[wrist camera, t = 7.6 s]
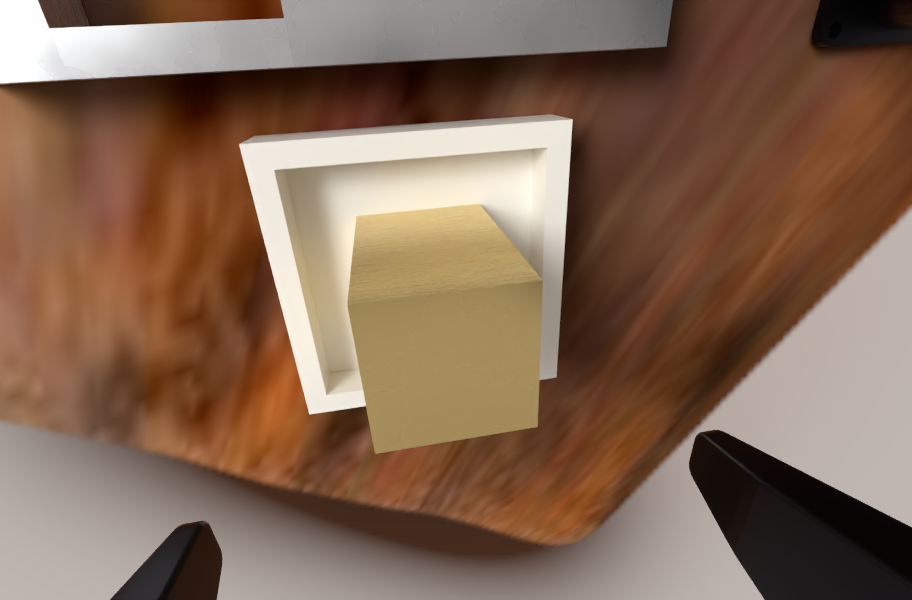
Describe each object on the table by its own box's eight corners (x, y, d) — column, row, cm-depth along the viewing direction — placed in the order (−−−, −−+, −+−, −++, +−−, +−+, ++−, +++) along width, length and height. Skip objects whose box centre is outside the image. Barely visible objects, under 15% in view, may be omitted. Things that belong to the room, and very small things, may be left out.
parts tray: (550, 114, 16) (572, 119, 14) (540, 351, 21) (556, 377, 19) (254, 136, 15) (239, 144, 13) (314, 383, 19) (309, 414, 18)
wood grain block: (479, 203, 17) (542, 280, 10) (482, 310, 19) (537, 426, 13) (356, 215, 16) (347, 304, 10) (374, 324, 18) (374, 453, 12)
